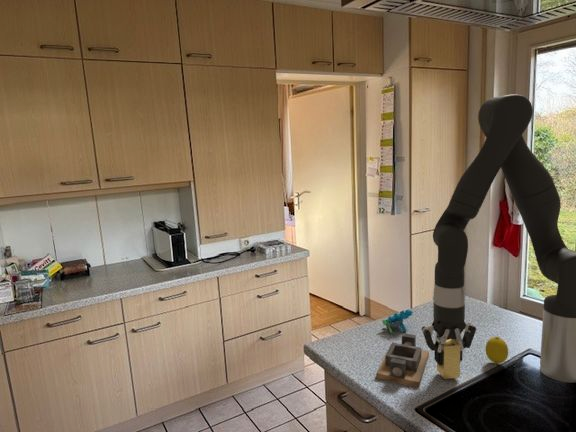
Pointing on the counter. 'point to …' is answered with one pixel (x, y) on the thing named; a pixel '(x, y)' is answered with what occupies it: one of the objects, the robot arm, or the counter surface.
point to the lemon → (496, 350)
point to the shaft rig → (404, 362)
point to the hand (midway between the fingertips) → (448, 362)
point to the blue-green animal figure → (397, 320)
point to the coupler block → (450, 360)
